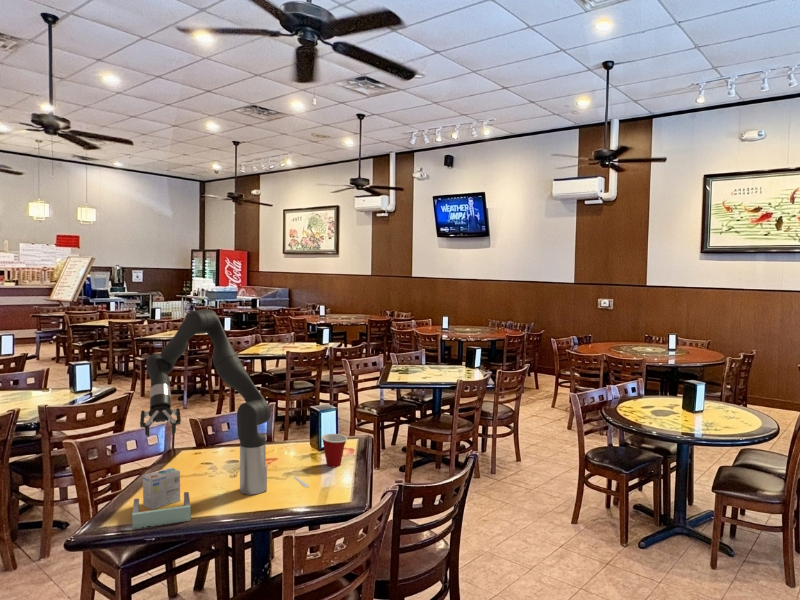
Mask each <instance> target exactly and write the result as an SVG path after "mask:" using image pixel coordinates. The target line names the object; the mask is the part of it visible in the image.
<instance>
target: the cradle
mask: <svg viewBox="0 0 800 600" xmlns="http://www.w3.org/2000/svg"><path fill="white" fill-rule="evenodd" d="M191 507H192V506H191V501H190V493H189V491H186V492H185V491H184V492H183V505H181V506H175V507H174V506H173V507H167V508H160V509H153V510H145V511H140V497H139V498H138V497H137V498H134V499H133V505H132V514H131V522H132V523H131V524H132V526H131V527H132V530H136V529H135V528H138V529H143V528H142V527H144V528H148V527H147V526H151V527H157V526H163V524H164V525H169V524H170V525H171V524H176V523H182V522H188V521H191V516H192V515H191V509H192V508H191ZM156 525H157V526H156Z"/></svg>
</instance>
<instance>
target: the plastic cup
mask: <svg viewBox="0 0 800 600" xmlns="http://www.w3.org/2000/svg"><path fill="white" fill-rule="evenodd" d="M321 439H322V444H323V445H322V446H323V450H324V456H325V461H326V462H325V463H326V465H327V466H328V467H329V468H337V466H338V467H340V466H341V465H342V460H343V454H344V449H345V445H346V442H347V440H348V437H347V436H345V435H344V434H338V433H327V434H323V435H322V436H321Z"/></svg>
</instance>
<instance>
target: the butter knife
mask: <svg viewBox="0 0 800 600" xmlns="http://www.w3.org/2000/svg"><path fill="white" fill-rule="evenodd" d="M292 478H293V479H295V480H296V481H297V482H298V483H299V484H300V485H301V486H302V487H304V488H309V487H310V485H309V484H308V483H306V482H305V481H303V480H302V479H300V478H298V477H297V476H296V475H295V476H292Z"/></svg>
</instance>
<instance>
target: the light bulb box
mask: <svg viewBox="0 0 800 600" xmlns="http://www.w3.org/2000/svg"><path fill="white" fill-rule="evenodd" d="M142 496H143V497H142V500H143V501H142V505H143V506H144V507H145V508H148V509H149V510H150V511H152V510H157V509H158V508H163V507H164V506H165V507H166V506H168V505H171V504H174V503H177V502H180V501H181V470H178V469H176V468H173V467H172V466H170V467H167V468H164V469H161V470H157V471H153V472H150V473H146V474H142Z"/></svg>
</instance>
